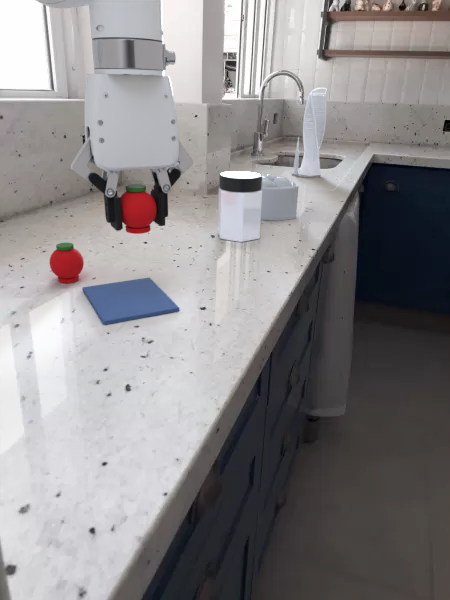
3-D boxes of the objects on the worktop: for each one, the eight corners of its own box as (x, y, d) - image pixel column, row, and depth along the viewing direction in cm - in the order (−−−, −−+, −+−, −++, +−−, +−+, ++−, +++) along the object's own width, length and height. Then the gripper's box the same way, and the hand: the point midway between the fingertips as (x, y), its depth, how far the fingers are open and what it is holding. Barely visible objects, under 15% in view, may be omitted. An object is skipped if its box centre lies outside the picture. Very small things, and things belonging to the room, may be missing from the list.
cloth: (103, 325, 59) (103, 321, 59) (82, 290, 69) (82, 287, 69) (179, 311, 63) (179, 307, 63) (149, 280, 73) (149, 277, 73)
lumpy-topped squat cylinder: (244, 207, 119) (245, 171, 115) (297, 211, 117) (300, 175, 113) (237, 217, 109) (238, 179, 106) (294, 222, 107) (297, 182, 104)
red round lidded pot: (124, 237, 57) (121, 191, 55) (113, 227, 61) (110, 183, 58) (163, 233, 59) (161, 188, 57) (150, 223, 63) (148, 181, 60)
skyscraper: (307, 173, 172) (316, 87, 160) (325, 176, 166) (335, 87, 155) (291, 175, 167) (298, 86, 155) (309, 178, 161) (318, 87, 150)
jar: (266, 234, 98) (270, 173, 93) (252, 244, 91) (255, 180, 86) (226, 228, 101) (227, 169, 96) (209, 237, 94) (210, 175, 90)
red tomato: (54, 287, 69) (50, 251, 67) (49, 276, 73) (44, 242, 71) (88, 282, 71) (85, 247, 69) (81, 272, 75) (78, 238, 73)
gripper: (187, 65, 59) (189, 212, 66) (41, 58, 52) (61, 225, 59) (214, 63, 53) (212, 226, 60) (52, 55, 45) (73, 241, 53)
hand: (137, 224), depth 59 cm, fingers closed on red round lidded pot, 4 cm apart
